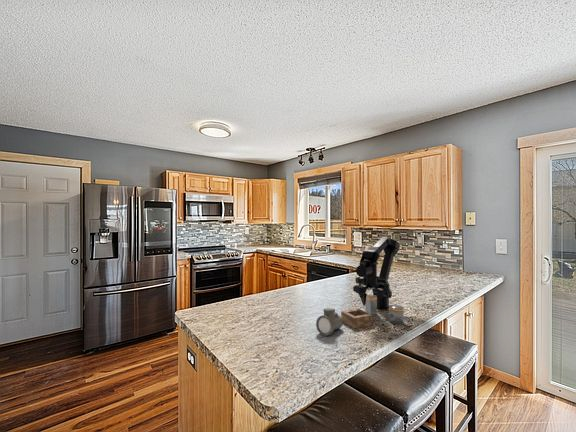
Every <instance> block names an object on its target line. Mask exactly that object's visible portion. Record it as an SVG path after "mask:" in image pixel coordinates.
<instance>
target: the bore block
mask: <svg viewBox="0 0 576 432" xmlns="http://www.w3.org/2000/svg"><path fill="white" fill-rule="evenodd" d="M340 317H341V318H342V320H343V323H344V324H346V325H348V326H349V327H351V328H353V329H359V328H363V327H368V326H373V315H371V314H369V313H367V312H365V311H364V310H362V309H360V308H353V309H348V310H341V313H340Z"/></svg>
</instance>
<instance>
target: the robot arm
mask: <svg viewBox="0 0 576 432" xmlns="http://www.w3.org/2000/svg"><path fill="white" fill-rule="evenodd" d="M400 248H401V244H400V243H399V242H398V240H395V239H393V238H391V237H390V236H382V237H380V239H379V240H378V241H377V242H376V243H375V244H374V245H372V246H371V247H368V248H366V249H364V250H363V252H362V253H361V254H362V255H361V257H360V259H359V264H358V265H357V267H356V269H355V273H356V274H357V276H358V277H355V284H356V285H353V288H352V291H353V292H355V293H356V294H358V296H359V298H360V301H361V303H362V305H363V306H365V304H366V297H367V295H368V294H367V291H369V290H370V291H371V290H372V295H374V296H377V309H379V310H389V305H390V299H392V297H393V292H392V290H391V288H390V283H389V276H390V272H391V268H392V263H393V261H394V257H396V255H397V254H398V253H399V250H400ZM382 251H383V252H384V255H383V256H384V257H383V260H382V264H381V268H380V271H379V276H378V270H377V269H378V268H377V267H378V265H379V262H378V260H379V259H380V257H381V256H380V254H381V253H382Z"/></svg>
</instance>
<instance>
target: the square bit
mask: <svg viewBox="0 0 576 432" xmlns="http://www.w3.org/2000/svg"><path fill="white" fill-rule="evenodd" d="M364 309H365V311H364V312H367V313H369V314H371V315H372V316H373V315H374V314H375V315H377V314H378V308H377V296H374V295H373V293H372V294H367V297H366V304H365V308H364Z"/></svg>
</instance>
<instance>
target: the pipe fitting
mask: <svg viewBox="0 0 576 432" xmlns="http://www.w3.org/2000/svg"><path fill="white" fill-rule="evenodd" d="M322 312H323V315H320V316H318V317H317V319H316V320H315V321H316V322H315V327H316V330H317V332H318V333H319V334H320V335H322V336H324V337H327V336H330V335H331V334H333V333H334V331H336V330H338V329H341V328H342V327H343V323H344V322H343V320H342V318H341V315H339V314H338V312H337V311H336V308H333V307H324V308H322Z"/></svg>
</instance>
